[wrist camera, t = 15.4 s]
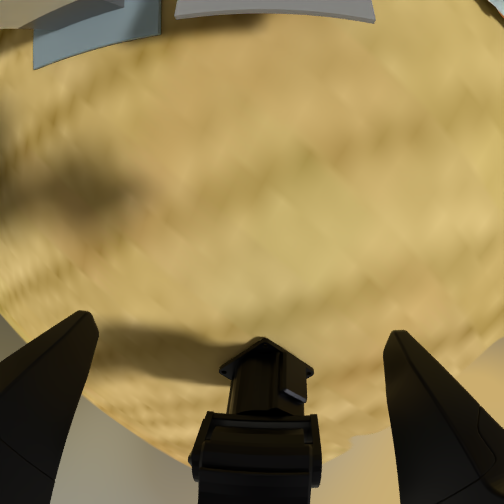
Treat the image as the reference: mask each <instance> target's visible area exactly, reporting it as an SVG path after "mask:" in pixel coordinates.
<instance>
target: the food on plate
mask: <svg viewBox="0 0 504 504" xmlns="http://www.w3.org/2000/svg"><path fill="white" fill-rule="evenodd" d="M488 1H489V2H490V3H491V4H493V5H494V6H495V7H496V8H497V10H498V12H499V13H500V15H501V16H502V17H503V18H504V0H488Z"/></svg>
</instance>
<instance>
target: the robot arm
mask: <svg viewBox="0 0 504 504" xmlns="http://www.w3.org/2000/svg"><path fill="white" fill-rule="evenodd" d="M98 337H99V331H98V328H97V326H96V323H95V321H94V318H93V316H92V314H91V313H90V312H88V311H82V310H79V311H77V312H75V313H74V314H72V315H70V316H69V317H67V318H66V319H64V320H63V321H61V322H60V323H58V324H56V325H55V326H53V327H52V328H50V329H49V330H47V331H46V332H44V333H43V334H41V335H40V336H38V337H37V338H35V339H34V340H32V341H31V342H29V343H28V344H26V345H25V346H23V347H22V348H20V349H19V350H18V351H16V352H14V353H13V354H11V355H10V356H8V357H7V358H6V359H4V360H3V361H1V362H0V504H50V500H51V496H52V491H53V487H54V483H55V479H56V475H57V471H58V467H59V463H60V459H61V456H62V452H63V449H64V446H65V442H66V439H67V435H68V433H69V429H70V426H71V423H72V420H73V417H74V414H75V411H76V408H77V405H78V402H79V399H80V396H81V394H82V391H83V388H84V385H85V383H86V380H87V377H88V373H89V370H90V366H91V362H92V359H93V355H94V351H95V348H96V344H97V341H98ZM264 344H266V345H264ZM383 361H384V372H385V384H386V397H387V405H388V411H389V417H390V423H391V429H392V436H393V442H394V449H395V456H396V465H397V473H398V482H399V491H400V503H401V504H504V429H503V428H502V427H501V426H500V425H499V424H498V423H497V422H496V421H495V420H494V419H493V418H492V417H491V416H490V415H489V414H488V413H487V412H486V411H485V409H484V408H483V407H481V406H480V405H479V403H478V402H477V401H476V400H475V399H474V398H473V397H472V396H471V395H470V394H469V393H468V392H467V391H466V390H465V389H464V388H463V387H462V386H461V385H460V384H459V382H458V381H457V380H456V379H455V378H454V377H453V376H452V375H451V374H450V373H449V372H448V371H447V370H446V369H445V368H444V367H443V366H442V365H441V364H440V363H439V362H438V361H437V360H436V359H435V358H434V357H433V356H432V355H431V354H430V353H429V352H428V351H427V350H426V349H425V348H424V347H423V346H422V345H420V344H419V343H418V342H417V341H416V340H415V339H414V338H413V337H412V336H411V335H410V334H409V333H408V332H407V331H405V330H394V331H392V332H391V333H390V336H389V338H388V341H387V343H386V345H385V348H384V351H383ZM219 373H220V374H221V375H223V376H225V377H227V378H228V379H230V380H231V386H230V393H229V399H228V405H227V412H226V414H224V413H214V412H212V411H207V414H206V416H205V419H203V421H202V424H201V427H200V430H199V433H198V435H197V438H196V441H195V444H194V447H193V449H192V451H191V453H190V455H189V457H188V462H189V464H190V465H191V466H192V474H193V478H194V481H195V482H199V494H198V495H199V496H198V504H310V495H311V488H318V487H319V485H320V480H321V472H322V453H321V443H320V434H319V426H318V418H317V414H310V415H306V416H304V403H306V402H307V383H306V379H307V378H309V377H311V376H312V375H313V374H314V369H313V368H312V367H310V366H309V365H307V364H305V363H304V362H302V361H301V360H299V359H298V358H296V357H295V356H293V355H291V354H290V353H288V352H287V351H285V350H284V349H282V348H281V347H279V346H278V345H276V344H275V343H273V342H272V341H270V340H268V339H262V340H260V341H259V342H257V343H256V344H254V345H253V346H251V347H250V348H248V349H247V350H245V351H244V352H242V353H241V354H239V355H238V356H236V357H235V358H233V359H232V360H230V361H228V362H227V363H225V364H224V365H222V366H221V367H220V369H219Z"/></svg>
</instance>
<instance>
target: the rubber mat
mask: <svg viewBox="0 0 504 504" xmlns="http://www.w3.org/2000/svg"><path fill="white" fill-rule="evenodd" d="M156 35H161V0H125V1H124V8H121V9H118V10H114V11H111V12H107V13H104V14H101V15H98V16H94V17H91V18H89V19H86V20H83V21H80V22H77V23H75V24H72V25H69V26H67V27H64V28H62V29H59V30H57V31H55V30H40V29H34V38H33V67H34V70H35V69H39V68H41V67H44V66H47V65H49V64H52V63H54V62H57V61H60V60H63V59H66V58H69V57H72V56H75V55H78V54H81V53H84V52H88V51H91V50H95V49H98V48H102V47H105V46H109V45H113V44H117V43H122V42H126V41H130V40H135V39H140V38H145V37H150V36H156Z"/></svg>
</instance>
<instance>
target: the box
mask: <svg viewBox="0 0 504 504" xmlns="http://www.w3.org/2000/svg"><path fill="white" fill-rule="evenodd" d="M124 1H125V0H0V29H40V30H55V31H57V30H59V29H62V28H64V27H67V26H69V25H72V24H75V23H77V22H80V21H83V20H86V19H89V18H91V17H94V16H98V15H101V14H104V13H107V12H111V11H114V10H118V9H121V8H124Z"/></svg>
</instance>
